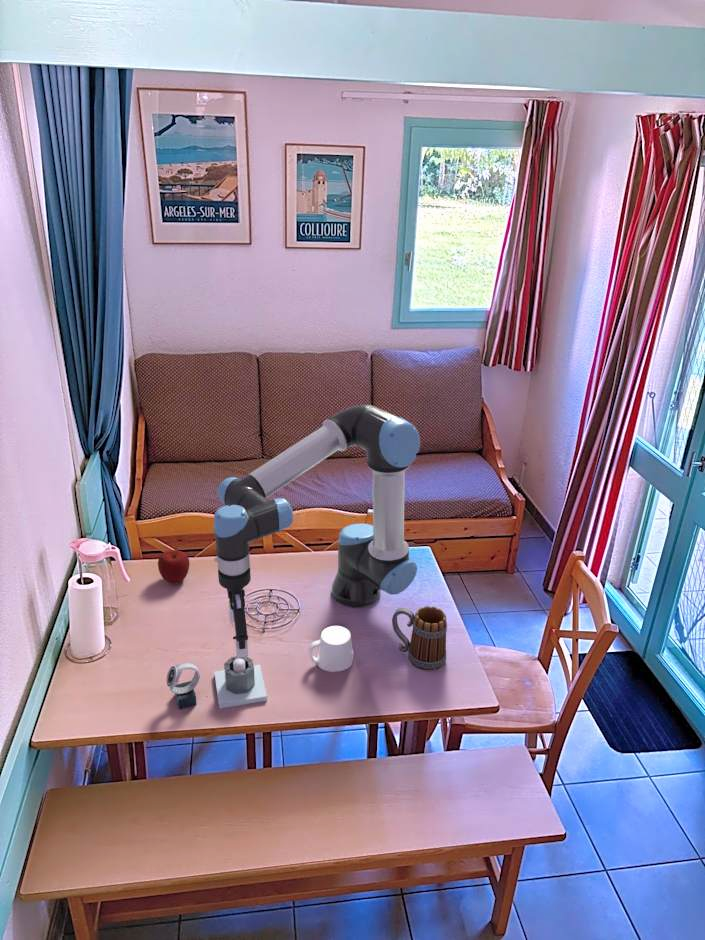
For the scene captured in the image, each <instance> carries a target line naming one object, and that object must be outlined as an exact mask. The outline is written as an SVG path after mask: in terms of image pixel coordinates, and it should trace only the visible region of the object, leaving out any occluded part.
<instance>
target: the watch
mask: <svg viewBox="0 0 705 940" xmlns="http://www.w3.org/2000/svg"><path fill="white" fill-rule="evenodd" d="M184 670H185V671H186V670H191V671H192V670H194V675H193V677H192V678H191V680H188V681H185V682H182V683H179V681H180V678H181V674H183V673H182V672H183V671H184ZM200 678H201V675H200V672H199V669H198V667H197V665H195V664H194V663H192V662H182V663H181V662H180V663H177V664H175V665H173V666H171V667H170V668H169V669H168V672H167V676H166V685H167V686H168V687H169V690H170V692H172V693H173V694H174V696H175V699H176V702H177V706H178V709H179V710H183V709H187V708H190V707H193V706H197V695H196V691H195V688H196V686H198V683H199V681H200Z"/></svg>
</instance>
